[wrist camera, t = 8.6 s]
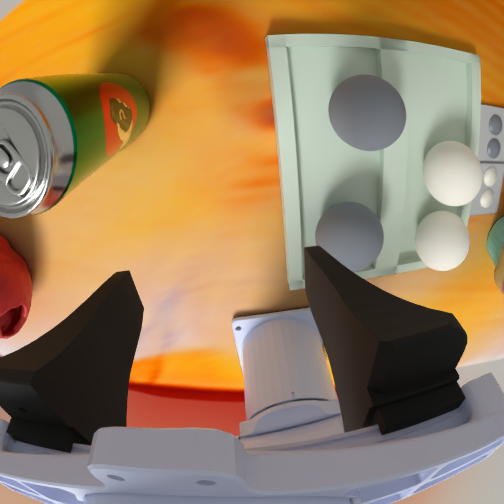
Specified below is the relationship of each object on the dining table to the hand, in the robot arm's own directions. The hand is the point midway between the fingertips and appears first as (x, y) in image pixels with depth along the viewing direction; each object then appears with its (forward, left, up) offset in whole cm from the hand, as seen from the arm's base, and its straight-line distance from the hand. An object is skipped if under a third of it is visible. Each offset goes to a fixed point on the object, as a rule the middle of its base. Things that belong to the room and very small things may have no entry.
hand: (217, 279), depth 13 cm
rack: (+1, -12, -10) cm, 16 cm away
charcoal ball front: (+5, -8, -9) cm, 13 cm away
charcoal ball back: (-3, -8, -9) cm, 13 cm away
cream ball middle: (+1, -16, -9) cm, 19 cm away
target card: (+1, -23, -10) cm, 25 cm away
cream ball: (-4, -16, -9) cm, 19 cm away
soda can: (+7, +6, -10) cm, 14 cm away
